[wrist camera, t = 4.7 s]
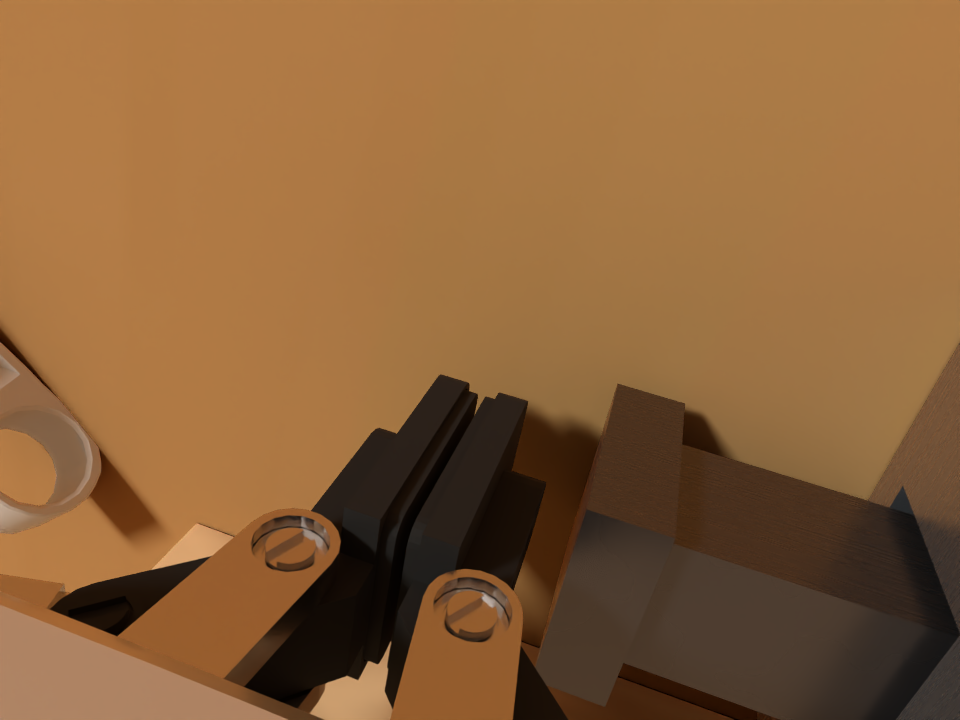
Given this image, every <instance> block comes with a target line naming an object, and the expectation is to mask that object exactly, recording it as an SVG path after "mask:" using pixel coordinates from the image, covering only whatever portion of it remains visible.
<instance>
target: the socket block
mask: <svg viewBox="0 0 960 720" xmlns="http://www.w3.org/2000/svg"><path fill="white" fill-rule="evenodd" d="M868 501H870V502H873V503H876V504H879V505H883V506H886V507H889V508H893V509H896V510H899V511H902V512H906V513H909V514H912V515H915V518H916V521H917V523H918V526H919V528H920V531H921V534H922V536H923V539H924V541H925V544H926V547H927V549H928V552H929V554H930V557H931V560H932V562H933V565H934V567H935V570H936V573H937V575H938V578H939V580H940V583H941V586H942V588H943V591H944V593H945V596H946V599H947V601H948V604H949V606H950V609H951V612H952V614H953V617H954V619H955V622H956V625H957V627H958V630H959V632H960V343H959V345H958V346H957V348H956V350H955V352H954V353H953V355H952V357H951V358H950V360H949V362H948V364H947V365H946V367H945V369H944V371H943V372H942V374H941V376H940V377H939V379H938V381H937V383H936V384H935V386H934V388H933V390H932V391H931V393H930V395H929V396H928V398H927V400H926V402H925V403H924V405H923V407H922V408H921V410H920V412H919V414H918V415H917V417H916V419H915V421H914V422H913V424H912V426H911V427H910V429H909V431H908V433H907V434H906V436H905V438H904V439H903V441H902V443H901V445H900V446H899V448H898V450H897V452H896V453H895V455H894V457H893V458H892V460H891V462H890V464H889V465H888V467H887V469H886V471H885V472H884V474H883V476H882V477H881V479H880V481H879V483H878V484H877V486H876V488H875V489H874V491H873V493H872V495H871V496H870V498H869V500H868ZM757 720H780V719H777V718H774V717H772V716H769V715H766V714H763V713H760V712H758V711H757ZM896 720H960V636H959V637H958V638H957V640H956V641H955V642H954V643H953V645H952V646H951V647H950V649H949V650H948V651H947V653H946V654H945V655H944V657H943V658H942V659H941V661H940V662H939V663H938V665H937V666H936V667H935V669H934V670H933V671H932V673H931V674H930V675H929V677H928V678H927V679H926V680H925V682H924V683H923V684H922V686H921V687H920V688H919V690H918V691H917V692H916V694H915V695H914V696H913V698H912V699H911V700H910V702H909V703H908V704H907V706H906V707H905V708H904V710H903V711H902V712H901V713H900V715H899V716H898V717H897V719H896Z"/></svg>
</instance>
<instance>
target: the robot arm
mask: <svg viewBox="0 0 960 720" xmlns="http://www.w3.org/2000/svg"><path fill="white" fill-rule="evenodd" d="M477 399H478V394H476V393H473V392H470V391H469V383H467V382H464V381H461V380H458V379H454V378H451V377H448V376H445V375H439V376H438V378H437V379H436V380H435V382H434V383H433V384H432V386H431V387H430V389H429V390H428V391H427V393H426V394H425V396H424V397H423V398H422V400H421V401H420V403H419V404H418V405H417V407H416V408H415V409H414V411H413V412H412V414H411V415H410V416H409V418H408V419H407V421H406V422H405V423H404V425H403V426H402V428H401V429H400V430H399V432H398V433H397V434H396V433H393V432H390V431H387V430H384V429H381V428H377V429H375V430H374V431H373V432H372V433H371V434H370V436H369V437H368V438H367V440H366V441H365V442H364V443H363V445H362V446H361V447H360V449H359V450H358V451H357V452H356V454H355V455H354V456H353V458H352V459H351V460H350V461H349V463H348V464H347V465H346V467H345V468H344V469H343V470H342V472H341V473H340V474H339V476H338V477H337V478H336V479H335V481H334V482H333V483H332V485H331V486H330V487H329V488H328V490H327V491H326V492H325V493H324V495H323V496H322V497H321V499H320V500H319V501H318V502H317V504H316V505H315V506H314V508H313V509H312V510H311V511H309V510H304V509H295V508H291V509H281V510H276V511H273V512H270V513H267V514H264V515H262V516H261V517H259V518H257V519H256V520H254V521H253V522H251V523H250V524H249V525H248V526H247V527H245V528H244V529H243V530H242V531H241V532H239V533H238V534H237V535H236V536H235V537H234V538H232V539H231V540H230V541H229V542H228V543H227V544H225V545H224V546H223V547H222V548H221V549H219V550H218V551H217V552H216V553H215V554H214V555H212V556H210V557H205V558H201V559H197V560H192V561H188V562H184V563H179V564H175V565H171V566H166V567H162V568H158V569H153V570H149V571H145V572H140V573H136V574H132V575H127V576H123V577H119V578H115V579H110V580H106V581H102V582H97V583H94V584H91V585H88V586H85V587H82V588H79V589H77V590H75V591H73V592H72V593H69V592H65V588H64V584H61V583H55V582H48V581H42V580H35V579H29V578H22V577H16V576H9V575H3V574H0V720H324V719H322V718H319V717H317V716H314V715H312V714H310V712H311V711H312V710H313V708H314V707H315V706H316V704H317V703H318V702H319V700H320V698H321V696H322V695H323V693H324V691H325V686H326V683H328V682H331V681H334V680H337V679H340V678H343V677H346V676H348V677H351V678H354V679H356V680H359V678H360V676H361V674H362V672H363V670H364V668H365V667H366V665H367V663H368V661H370V662H372V663H375V664H379V663H380V661H381V660H382V658H383V656H384V654H385V652H386V650H387V648H388V646H389V644H390V642H391V645H390V651H389V657H388V663H387V668H388V674H387V679H386V685H385V694H386V696H387V698H388V700H389V703H390V705H391V707H392V709H393V711H392V714H391V718H390V720H568V718H567V717H566V715H565V714H564V712H563V710H562V709H561V707H560V706H559V704H558V703H557V701H556V700H555V698H554V696H553V695H552V693H551V692H550V690H549V689H548V687H547V686H546V684H545V682H544V681H543V679H542V678H541V676H540V675H539V673H538V671H537V670H536V668H535V667H534V665H533V664H532V662H531V661H530V659H529V657H528V656H527V654H526V653H525V651H524V650H523V648H522V646H521V636H522V627H523V611H522V606H521V603H520V601H519V599H518V597H517V595H516V594H515V592H514V591H513V590H514V587H515V584H516V581H517V578H518V575H519V572H520V569H521V566H522V563H523V560H524V557H525V554H526V551H527V548H528V545H529V542H530V538H531V535H532V532H533V528H534V525H535V522H536V518H537V515H538V511H539V508H540V504H541V501H542V497H543V494H544V490H545V486H546V482H544V481H541V480H538V479H535V478H532V477H529V476H525V475H522V474H519V473H516V472H513V471H511V470H512V466H513V462H514V458H515V454H516V450H517V446H518V442H519V438H520V434H521V430H522V426H523V422H524V418H525V414H526V410H527V405H528V401H526V400H523V399H519V398H516V397H513V396H510V395H506V394H503V393H498V395H497V396H496V398H495V399H493V398H489V397H485V398H484V400H483V402H482V403H481V405H480V407H479V409H478V410H477V412H476V414H475V409H476V404H477ZM474 414H475V416H474Z"/></svg>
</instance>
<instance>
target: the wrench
mask: <svg viewBox="0 0 960 720" xmlns="http://www.w3.org/2000/svg"><path fill="white" fill-rule="evenodd" d="M0 429H10V430H14V431H18V432H22V433H26V434H28V435H29V436H31V437H32V438H34V439H35V440H37V441H38V442H40V443H41V444H42V445H43V446H44V448H45V449H46V450H47V452H48V453H49V454H50V456H51V457H52V459H53V463H54V467H55V471H56V475H57V477H56V482H55V488H54V493H53V494H52V496H51V497H50V499H49V500H48V502H47V503H46V505H41V506H37V505H31V504H26V503H20V502H17V501H15V500H14V499H12V498H10V497H9V496H7V495H5V494H4V493H2V492H0V533H8V534H14V533H18V532H21V531H24V530H28V529H31V528H34V527H37V526H40V525H42V524H44V523H46V522H48V521H50V520H52V519H54V518H56V517H58V516H60V515H62V514H64V513H66V512H68V511H71V510H73V509H74V508H75V507H77V506H78V505H79V504H81V503H82V502H83V501H84V500H86V499H87V498H88V497H89V495H90V494H91V492H92V491H93V489H94V487H95V486H96V484H97V481H98V479H99V476H100V474H101V457H100V451H99V448H98V446H97V445H96V444H95V443H94V441H93V440H92V439H91V438H90V436H89V435H88V434H87V433H86V432H85V430H84V429H83V428H82V427H81V425H80V424H79V423H78V422H77V421H76V419H75V418H74V417H73V416H72V414H71V413H70V412H69V411H68V410H67V408H66V407H65V406H64V405H63V403H62V402H61V401H60V400H59V399H58V398H57V397H56V396H55V395H54V394H53V393H52V392H51V391H50V390H49V389H48V388H47V387H46V386H44V385H43V384H42V383H41V382H40V381H39V379H38V378H37V377H36V376H35V375H34V374H33V373H32V372H31V371H30V370H29V369H28V368H27V367H26V366H25V365H24V364H23V363H22V362H21V361H20V360H19V359H18V358H17V357H15V356H14V355H13V354H12V353H11V352H10V351H9V350H8V349H7V348H6V347H5V346H4V345H3V344H2V343H1V342H0Z"/></svg>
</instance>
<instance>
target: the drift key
mask: <svg viewBox="0 0 960 720" xmlns="http://www.w3.org/2000/svg"><path fill="white" fill-rule="evenodd" d="M684 410H685V404H684V403H681V402H677V401H674V400H671V399H667V398H664V397H661V396H657V395H654V394H650V393H647V392H644V391H640V390H637V389H634V388H630V387H627V386H623V385H620V384H617V387H616V391H615V394H614V397H613V400H612V403H611V406H610V409H609V413H608V416H607V419H606V422H605V425H604V428H603V431H602V435H601V438H600V441H599V444H598V447H597V450H596V454H595V457H594V460H593V463H592V466H591V469H590V472H589V476H588V479H587V482H586V485H585V488H584V491H583V495H582V498H581V501H580V504H579V507H578V510H577V513H576V517H575V520H574V523H573V526H572V529H571V532H570V536H569V540H568V543H567V547H566V551H565V555H564V559H563V562H562V566H561V570H560V574H559V577H558V581H557V585H556V589H555V592H554V596H553V600H552V604H551V607H550V611H549V615H548V619H547V622H546V626H545V630H544V634H543V637H542V641H541V645H540V649H539V652H538V656H537V660H536V664H535V668H536V670H537V671H538V673H539V675H540V676H541V678H542V679H543V681H544V682H545V684H546V685H547V686H550V687H553V688H555V689H558V690H561V691H563V692H566V693H569V694H571V695H574V696H577V697H579V698H582V699H585V700H587V701H590V702H593V703H595V704H598V705H601V706H603V707H605V706H606V703H607V701H608V699H609V696H610V694H611V691H612V689H613V687H614V684H615V682H616V679H617V677H618V675H619V672H620V670H621V667H622V665H623V663H625V664H628V665H630V666H633V667H636V668H639V669H641V670H644V671H647V672H650V673H652V674H655V675H658V676H661V677H664V678H666V679H669V680H672V681H675V682H677V683H680V684H683V685H686V686H688V687H691V688H694V689H697V690H700V691H702V692H705V693H708V694H711V695H713V696H716V697H719V698H722V699H724V700H727V701H730V702H733V703H736V704H738V705H741V706H744V707H747V708H749V709H752V710H755V711H758V712H760V713H763V714H766V715H769V716H772V717H774V718H777V719H780V720H896V719H897V717H898V716H899V715H900V713H901V712H902V711H903V710H904V708H905V707H906V706H907V704H908V703H909V702H910V700H911V699H912V698H913V696H914V695H915V694H916V692H917V691H918V690H919V688H920V687H921V686H922V684H923V683H924V682H925V680H926V679H927V678H928V677H929V675H930V674H931V673H932V671H933V670H934V669H935V667H936V666H937V665H938V663H939V662H940V661H941V659H942V658H943V657H944V655H945V654H946V653H947V651H948V650H949V649H950V647H951V646H952V645H953V643H954V642H955V641H956V640H957V638H958V637H959V636H960V632H959V630H958V627H957V625H956V622H955V619H954V617H953V614H952V612H951V609H950V606H949V604H948V601H947V599H946V596H945V593H944V591H943V588H942V586H941V583H940V580H939V578H938V575H937V573H936V570H935V567H934V565H933V562H932V560H931V557H930V554H929V552H928V549H927V547H926V544H925V541H924V539H923V536H922V534H921V531H920V528H919V526H918V523H917V521H916V518H915V515H912V514H909V513H906V512H902V511H899V510H896V509H893V508H889V507H886V506H883V505H879V504H876V503H873V502H870V501H866V500H863V499H860V498H857V497H853V496H850V495H847V494H843V493H840V492H837V491H834V490H830V489H827V488H824V487H821V486H817V485H814V484H811V483H807V482H804V481H801V480H798V479H794V478H791V477H788V476H785V475H781V474H778V473H775V472H771V471H768V470H765V469H762V468H758V467H755V466H752V465H749V464H745V463H742V462H739V461H735V460H732V459H729V458H726V457H722V456H719V455H716V454H713V453H709V452H706V451H703V450H699V449H696V448H693V447H690V446H686V445H683V444H682V438H683V424H684Z"/></svg>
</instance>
